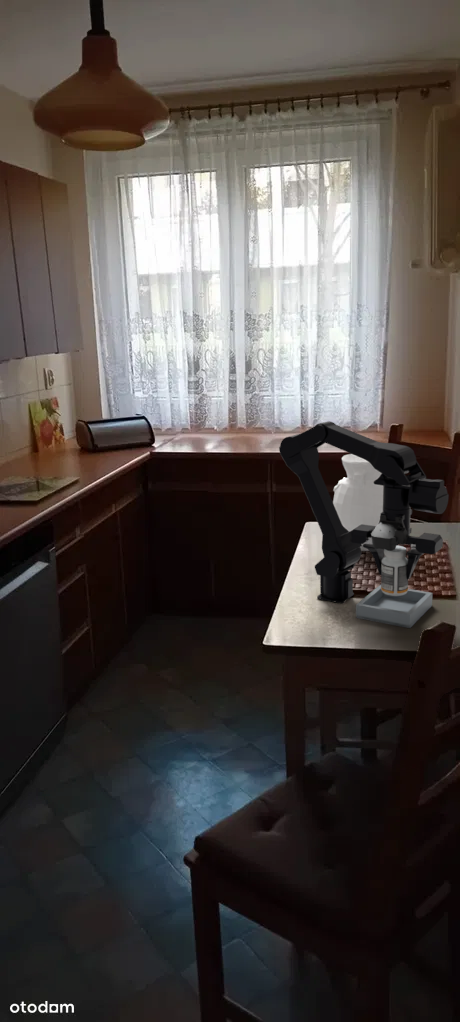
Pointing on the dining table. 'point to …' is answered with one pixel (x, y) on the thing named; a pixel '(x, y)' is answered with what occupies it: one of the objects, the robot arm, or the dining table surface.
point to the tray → (394, 607)
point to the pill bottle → (394, 572)
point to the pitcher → (358, 494)
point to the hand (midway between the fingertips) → (394, 576)
